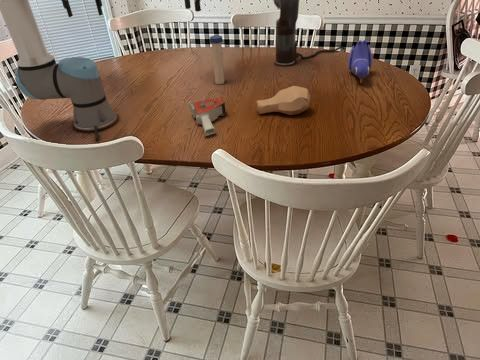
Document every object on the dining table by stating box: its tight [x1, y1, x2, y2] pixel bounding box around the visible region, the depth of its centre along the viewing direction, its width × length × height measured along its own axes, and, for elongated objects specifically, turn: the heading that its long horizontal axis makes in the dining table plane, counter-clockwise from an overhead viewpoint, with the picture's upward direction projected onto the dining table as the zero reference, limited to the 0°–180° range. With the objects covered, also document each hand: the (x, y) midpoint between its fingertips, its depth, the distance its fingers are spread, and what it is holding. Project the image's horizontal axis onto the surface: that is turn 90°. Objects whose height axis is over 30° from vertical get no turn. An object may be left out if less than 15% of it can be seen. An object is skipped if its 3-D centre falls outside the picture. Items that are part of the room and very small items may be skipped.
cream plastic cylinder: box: [211, 42, 225, 85], centre depth 154 cm, size 4×4×19 cm
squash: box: [255, 85, 312, 116], centre depth 130 cm, size 11×20×9 cm, turn 92°
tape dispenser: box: [188, 97, 226, 137], centre depth 128 cm, size 18×5×20 cm
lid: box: [209, 34, 224, 44], centre depth 149 cm, size 5×5×2 cm
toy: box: [347, 39, 373, 84], centre depth 152 cm, size 10×17×25 cm
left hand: (85, 15), depth 157 cm, fingers open, 13 cm apart
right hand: (193, 9), depth 149 cm, fingers open, 8 cm apart
